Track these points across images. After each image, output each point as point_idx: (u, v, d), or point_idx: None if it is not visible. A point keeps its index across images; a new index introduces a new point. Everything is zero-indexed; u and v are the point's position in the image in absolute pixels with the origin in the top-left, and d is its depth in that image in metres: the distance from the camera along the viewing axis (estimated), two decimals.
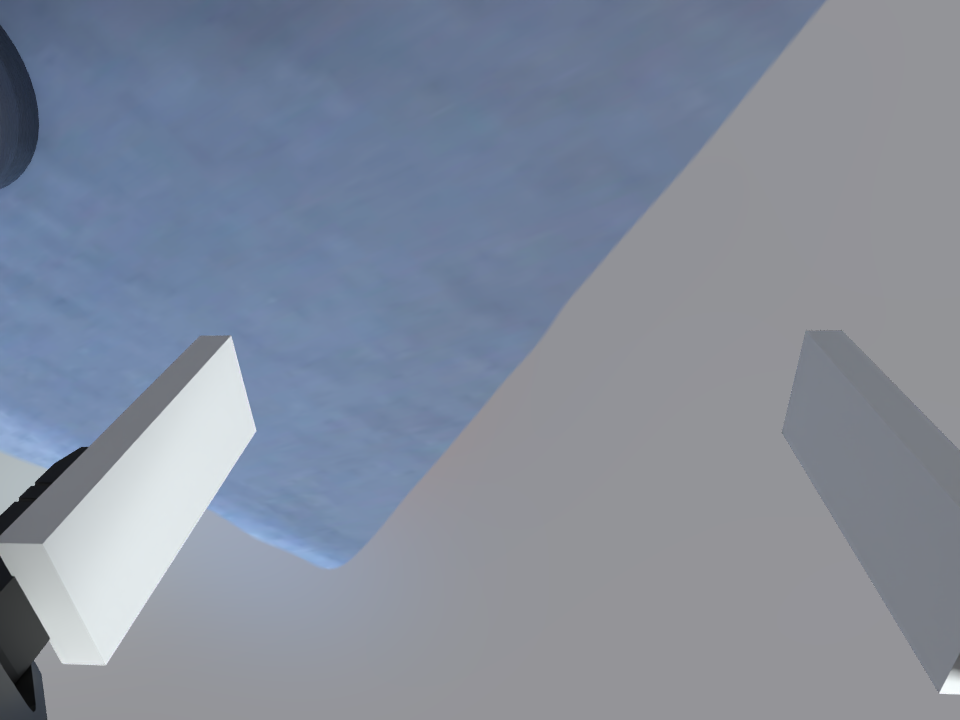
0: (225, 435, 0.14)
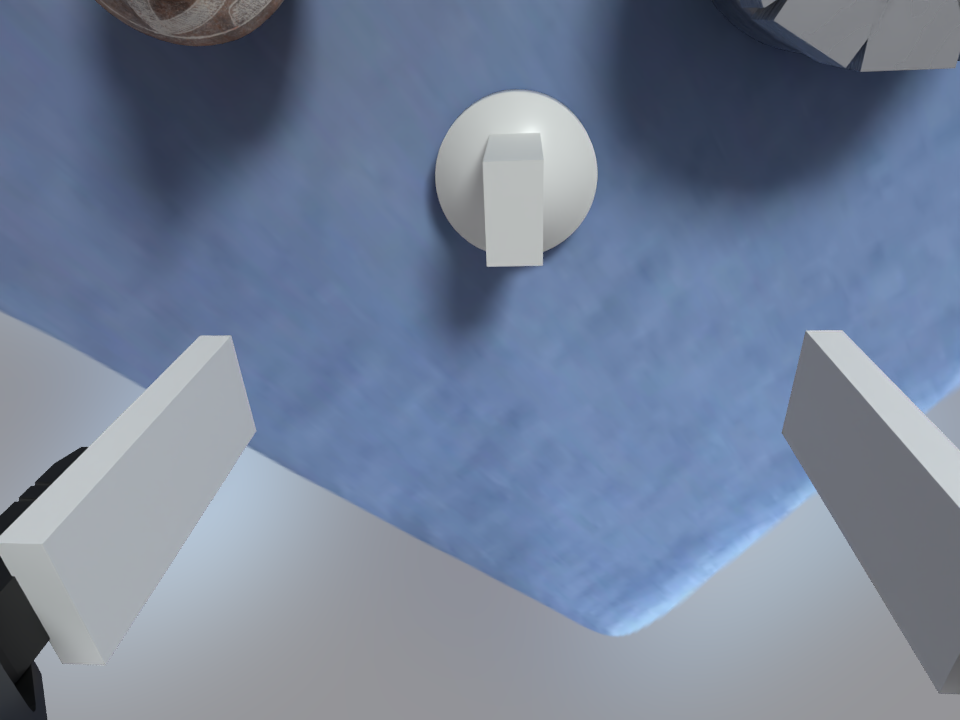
0: (225, 435, 0.14)
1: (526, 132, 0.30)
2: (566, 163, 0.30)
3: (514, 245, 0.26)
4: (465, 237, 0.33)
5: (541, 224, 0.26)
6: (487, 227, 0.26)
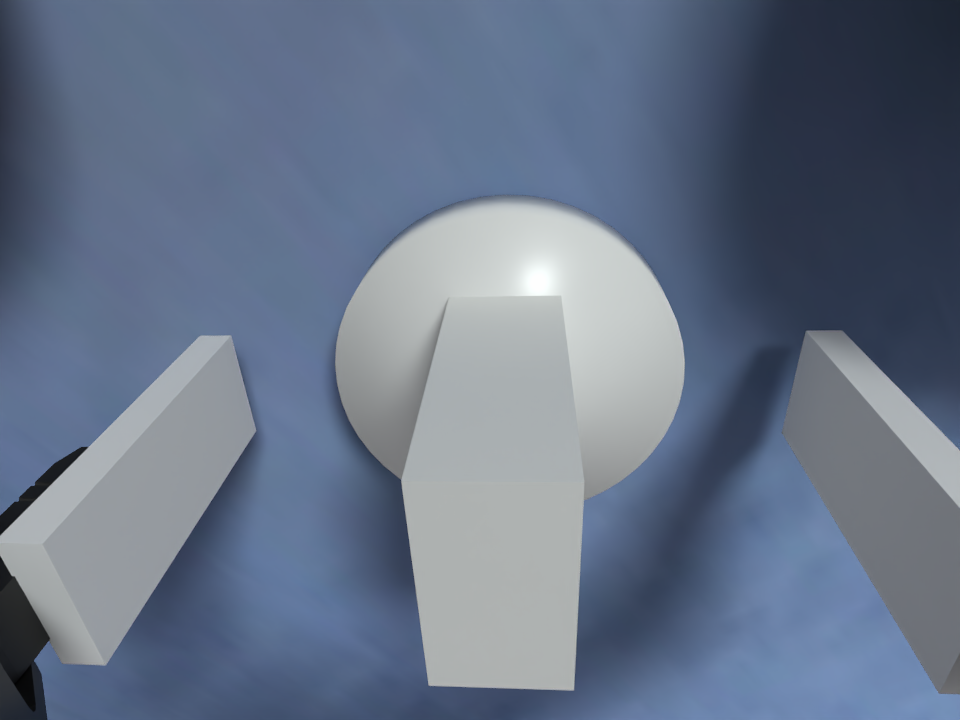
0: (225, 435, 0.14)
1: (530, 295, 0.13)
2: (616, 356, 0.14)
3: (498, 652, 0.10)
4: None
5: (573, 616, 0.09)
6: (425, 616, 0.10)
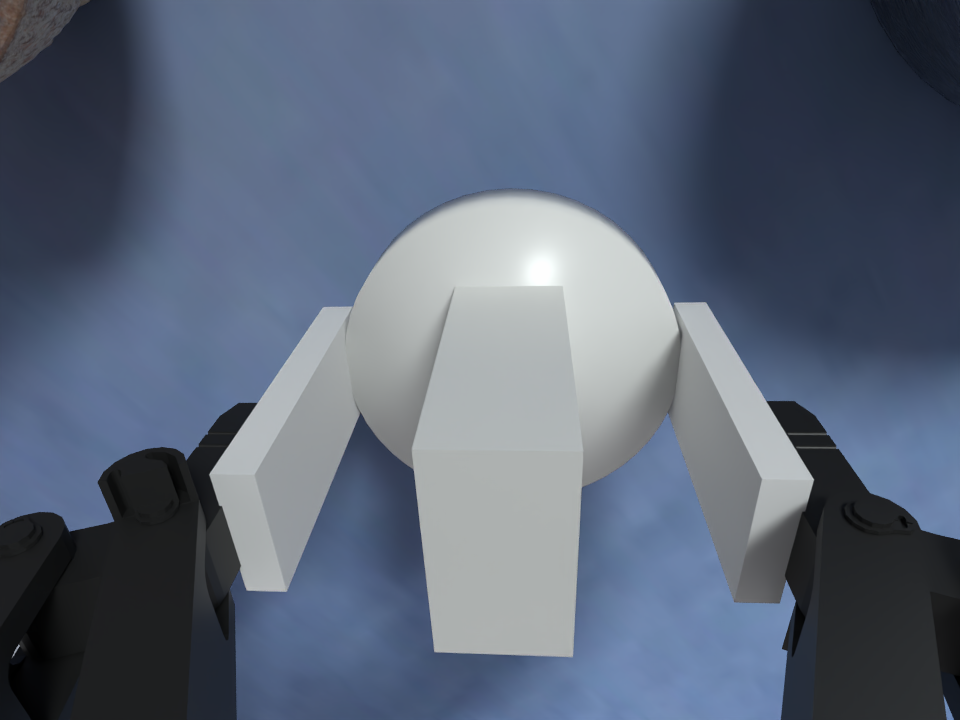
0: (349, 398, 0.15)
1: (533, 285, 0.14)
2: (615, 345, 0.14)
3: (502, 618, 0.10)
4: (411, 465, 0.17)
5: (572, 583, 0.10)
6: (432, 582, 0.10)
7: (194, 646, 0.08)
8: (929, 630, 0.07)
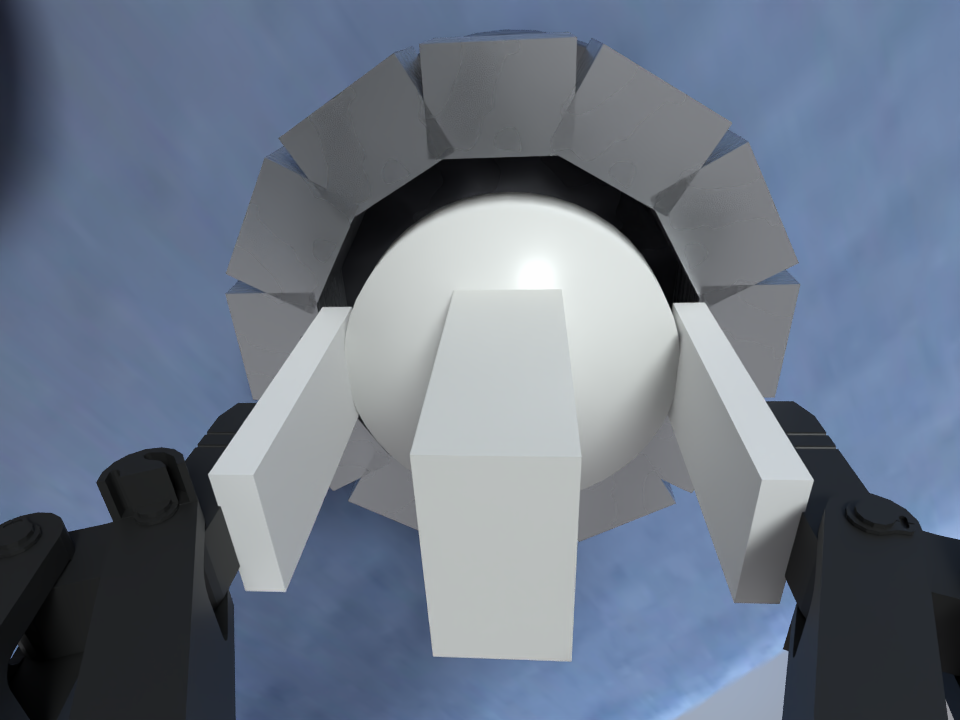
0: (349, 398, 0.15)
1: (532, 288, 0.14)
2: (614, 348, 0.15)
3: (501, 623, 0.10)
4: (411, 468, 0.17)
5: (570, 587, 0.10)
6: (431, 587, 0.10)
7: (193, 646, 0.08)
8: (931, 631, 0.07)
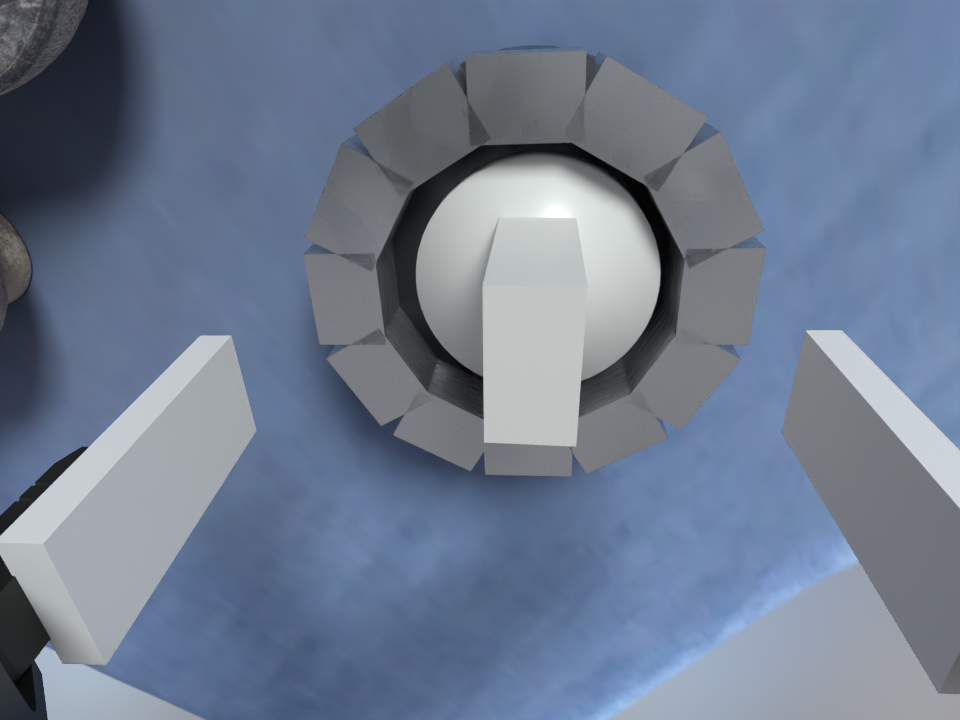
0: (225, 435, 0.14)
1: (555, 216, 0.19)
2: (612, 264, 0.20)
3: (530, 414, 0.16)
4: (458, 358, 0.22)
5: (577, 386, 0.15)
6: (487, 385, 0.16)
7: None
8: None
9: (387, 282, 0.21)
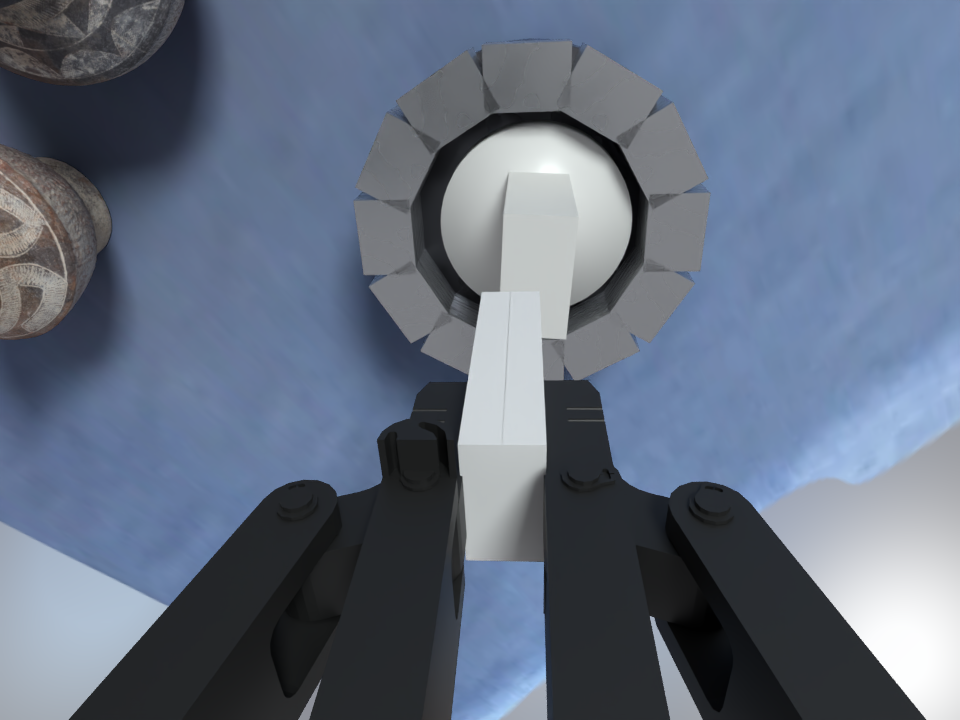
0: None
1: (552, 172, 0.25)
2: (595, 212, 0.26)
3: None
4: (471, 286, 0.28)
5: (568, 292, 0.21)
6: (502, 290, 0.21)
7: (437, 626, 0.08)
8: (635, 565, 0.08)
9: (417, 225, 0.27)
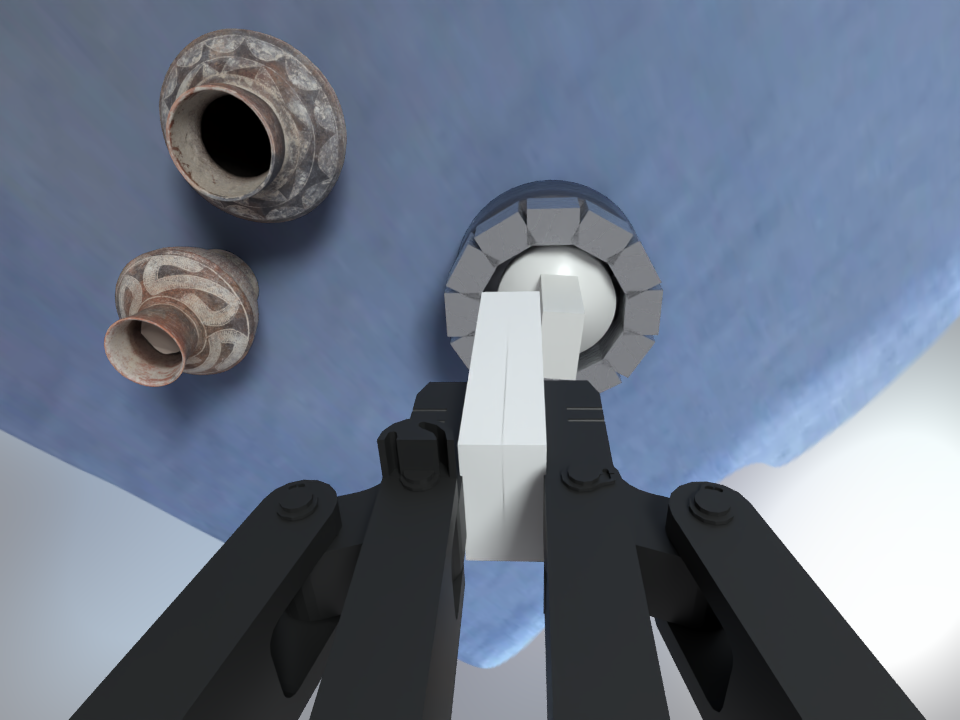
0: None
1: (567, 275, 0.41)
2: (593, 298, 0.42)
3: (557, 365, 0.37)
4: None
5: (578, 354, 0.37)
6: None
7: (436, 626, 0.08)
8: (635, 565, 0.08)
9: None
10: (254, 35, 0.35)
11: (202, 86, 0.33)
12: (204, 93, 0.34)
